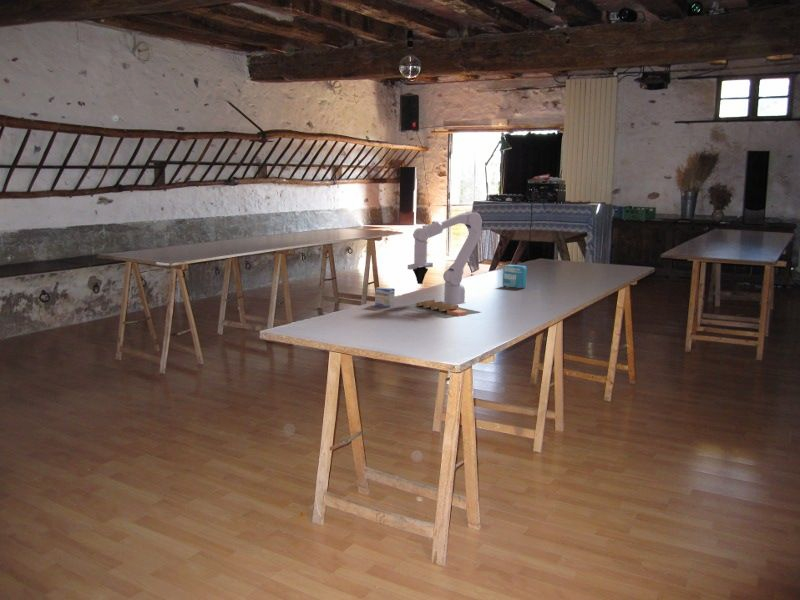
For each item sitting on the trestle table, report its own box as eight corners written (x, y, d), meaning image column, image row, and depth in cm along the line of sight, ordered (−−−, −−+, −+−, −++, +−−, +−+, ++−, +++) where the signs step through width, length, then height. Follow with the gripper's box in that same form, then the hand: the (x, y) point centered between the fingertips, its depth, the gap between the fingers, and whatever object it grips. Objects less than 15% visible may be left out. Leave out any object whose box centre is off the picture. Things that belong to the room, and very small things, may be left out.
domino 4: (438, 308, 299) (449, 305, 294) (446, 307, 303) (458, 304, 297) (439, 311, 299) (450, 309, 294) (447, 310, 303) (458, 308, 297)
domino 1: (415, 303, 311) (426, 300, 305) (424, 302, 314) (434, 299, 309) (416, 306, 311) (426, 304, 305) (424, 305, 314) (434, 302, 308)
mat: (432, 302, 324) (432, 301, 324) (481, 313, 300) (481, 312, 300) (396, 307, 310) (396, 306, 310) (445, 319, 286) (445, 318, 286)
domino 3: (430, 306, 303) (441, 304, 298) (439, 305, 307) (449, 303, 301) (431, 309, 303) (442, 307, 298) (439, 308, 306) (450, 306, 301)
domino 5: (447, 310, 296) (458, 312, 290) (455, 308, 299) (467, 311, 293) (446, 313, 296) (458, 316, 290) (455, 312, 299) (466, 314, 294)
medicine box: (374, 306, 312) (374, 288, 310) (379, 305, 316) (379, 286, 314) (389, 308, 308) (390, 289, 307) (394, 306, 312) (394, 288, 310)
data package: (502, 286, 373) (503, 265, 371) (505, 285, 377) (506, 264, 375) (523, 289, 367) (524, 266, 365) (526, 287, 370) (527, 266, 368)
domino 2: (423, 304, 307) (433, 302, 302) (431, 303, 310) (441, 301, 305) (423, 308, 307) (434, 305, 302) (432, 307, 310) (442, 304, 305)
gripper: (415, 256, 305) (414, 286, 308) (437, 254, 315) (437, 283, 318) (404, 254, 311) (404, 284, 313) (426, 252, 320) (426, 281, 323)
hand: (420, 283), depth 316 cm, fingers closed
